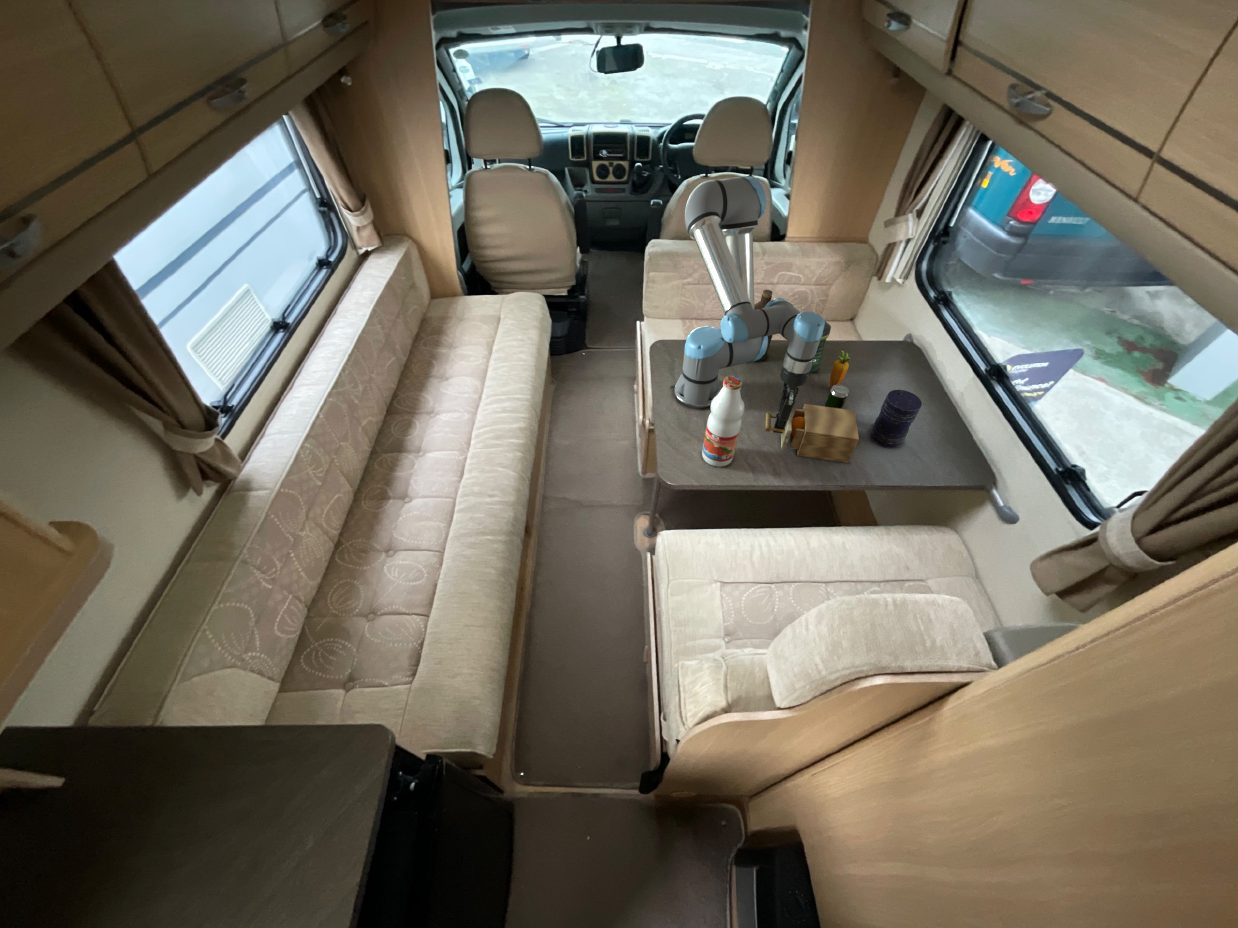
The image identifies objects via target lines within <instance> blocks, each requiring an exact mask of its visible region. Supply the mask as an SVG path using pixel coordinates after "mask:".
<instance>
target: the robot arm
mask: <svg viewBox="0 0 1238 928" xmlns="http://www.w3.org/2000/svg"><path fill="white" fill-rule="evenodd" d="M685 204H686V205H685V208H684V223H685V228H686V231H687V234H688V235H689V239H691V240H693V241H695V243H696V246H697V248H698V251H699V254H700V256H701V258H702V262H703V264H704V266H705V269H706V272H707V274H708V277H709V279H710V281H711V284H712V287H713V289H714V292H715V293H716V294H715V295H716V297H717V300H718V303H719V304H720V307H721V309H722V312H723V315H724V316H723V317H722V318H721V320H720V325H719V327H720V328H719V327H717V326H714V325H713V326H710V325H704V326H703V325H702V326H699V327H696V328H694V329H692V331H690V332H689V333H688V335H687V337H686V340H685V344H684V348H683V349H684V350H683V351H684V354H683V360H682V361H683V362H682V371H681V374H680V375H679V377H678V379H677V381H676V383H675V384H673V385H670V388H671V389H673V388H674V389H673V396H674V398H675V399H676V401H677V402H678V403H680V404H681V405H682V406H685V407H688V408H691V409H695V410H696V409H697V410H701V409H702V410H704V409H709V408H711V403H712V400H713V399H714V397H715V396H717V395H718V393H719V392H720V391H721V389H722V388H723V387H721V386H720V381H719V372H720V370H721V369H725V368H726V369H727V368H731V367H735V366H739V365H744V364H750V363H752V362H753V361H756V360H759V359H760V358H761V357H762V356H763V355H764V354H765V352H766V349H767V345H768V336H770V335H773V336H774V335H780V336H781V337H782V338H783V339H785V340H786V341H788V344H787V345H788V346H787V348H786V352H785V354H784V359H783V361H782V367H781V371H780V374H779V378H780V380H781V381H782V382H783V387H782V391H781V395H780V399H779V403H778V410H777V411H778V412H777V413H776V414H775V416H776V417H777V418H775V421H774V424H773V425H774V426H773V428H776V429H783V430H784V426H785V423H786V421H788V419H789V416H790V413H791V414H792V411H793V408H794V406H795V404H796V397H797V395H798V393H799V389H800V388H799V387H801V386H804V385H806V384H807V382H808V380H809V376H810V374H811V373H810V370H811V367H812V362H813V363H814V362H816V359H814V358H815V354H816V351H817V348H818V345H819V342H820V340H821V338H822V335H823V329H824V325H825V321H826V320H825V319H824V317H823V316H822V315H821V314H818V313H816V312H813V311H799V309H798V308H796V307H795V306H794V305H793V303H791V302H790V301H788V300H786V299H785V298H782V297H775V298H773V299H771V301H770V302H768V303H767V304H766V306H765V308H762V309H757V310H754V304H755V271H754V231H755V230H756V229H757V228H758V227H759V220H760V218H762V217H764V214H765V211H766V208H767V196H766V191H765V189H764V186H763V184H762V183H761V182H760V180H759V179H758V178H756V177H754V176H752V175H751V176H744V175H743V176H740V175H739V176H736V177H729V178H722V179H709V180H705V181H703V182H701V183H700V184H698V185H697V186H696V187H695V188H694V189H693V190H692V191H691V193H690V194H689V197H688V199H687V201H686V203H685ZM824 320H825V321H824ZM772 433H776V434H780V435H781V434H782V433H783V432H778V431H772Z"/></svg>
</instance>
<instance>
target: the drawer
mask: <svg viewBox="0 0 1238 928" xmlns="http://www.w3.org/2000/svg"><path fill="white" fill-rule="evenodd" d="M795 417H804V410H803V408H802V409H800V408H795V410H794V412H793V415H792V412H791V413H790V416H789V419H788V421H786V423H785V426H784V430H783V429H776V428H774V427H772V419H776V418H777V417H776V414H775V415H774V414H771V412H767V413H765V417H764V418H765V420H764V421H765V422H764V431H765V432H767V433H769V432H773V431H778V432H783V433H782V434H781V433H780V447H781V448H780V449H781V450H782V451H786V448H787V446H788V443H789V448H790V449H794V450H797V449H799V448H800V445H801V442H802V439H803V436H804V433H805V430H804V429H797V428H796V430H795V433H794V436H792V435H791V431H792V429H791V420H792V419H793V418H795Z"/></svg>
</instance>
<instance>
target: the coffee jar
mask: <svg viewBox="0 0 1238 928" xmlns="http://www.w3.org/2000/svg"><path fill="white" fill-rule="evenodd" d="M824 321H825V325H824V329H823V335H822V338H821V340H820V342H819V345H818V348H817V351H816V354H815V358H814V359H816V362H814V363H813V362H812V367H811V370H810V374H811V373H814V372H817V371H818V370H819V368H820V363H821V359H822V355H823V351H824V348H825V344H826V341H827V339H828V338H829V337H830V334H831V329H832V326H831V324H830V323H828V322H827V321H826V320H825V319H824Z"/></svg>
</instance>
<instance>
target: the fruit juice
mask: <svg viewBox="0 0 1238 928" xmlns="http://www.w3.org/2000/svg"><path fill="white" fill-rule="evenodd" d="M742 387H743V380H742V379H741V378H740V377H738V376H737V375H736V376H735V375H727V376H725V377H724V378H723V381H722V387H721V388H722V389H721V388H720V389H721V391H720V392H719V393H718V395H717V396H715V397H714V399H713V400H712V403H711V407H710V414H709V415H708V418H707V421H706V427H705V431H704V432H705V433H704V438H703V443H702V449H701V456H702V459H703V461H704V462H705V463H707V464H709V465H710V466H714V467H721V468H722V467H726V466H728V465H730V464H731V463H732V461H733V460H734V458H735V457H734V456H735V452H736V449H737V445H738V440H739V437H740V432H741V429H742V417H743V415H744V413H745V402H744V400H743V398H742V395H741V389H742Z"/></svg>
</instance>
